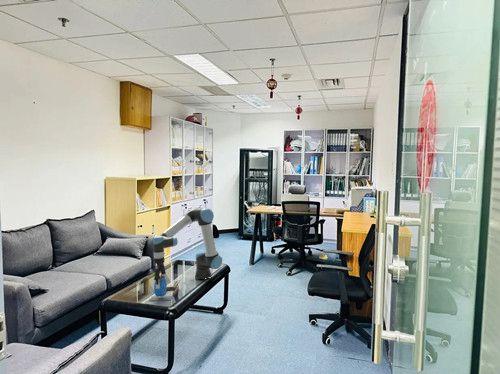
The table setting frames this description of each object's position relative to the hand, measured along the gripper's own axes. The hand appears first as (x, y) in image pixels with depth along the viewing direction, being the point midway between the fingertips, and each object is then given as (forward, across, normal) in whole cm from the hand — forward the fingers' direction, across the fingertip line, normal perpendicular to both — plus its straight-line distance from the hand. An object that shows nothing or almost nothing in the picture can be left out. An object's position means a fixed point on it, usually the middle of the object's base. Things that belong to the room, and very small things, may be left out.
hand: (160, 285), depth 250 cm
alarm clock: (+8, 0, 0) cm, 8 cm away
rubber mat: (+10, 0, 0) cm, 10 cm away
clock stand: (+10, +12, -3) cm, 16 cm away
